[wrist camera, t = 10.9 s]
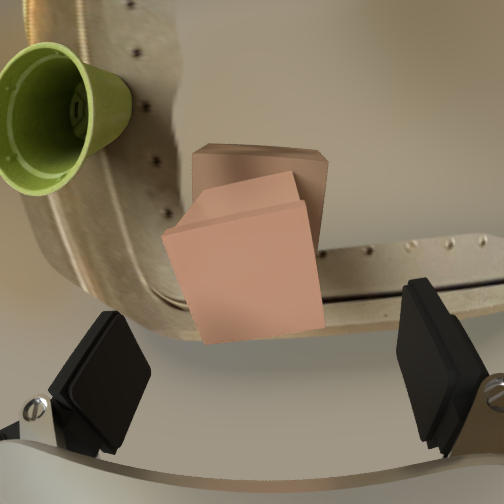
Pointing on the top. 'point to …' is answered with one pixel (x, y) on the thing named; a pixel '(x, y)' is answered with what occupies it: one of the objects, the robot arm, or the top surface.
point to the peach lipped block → (247, 261)
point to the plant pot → (55, 116)
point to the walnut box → (264, 172)
